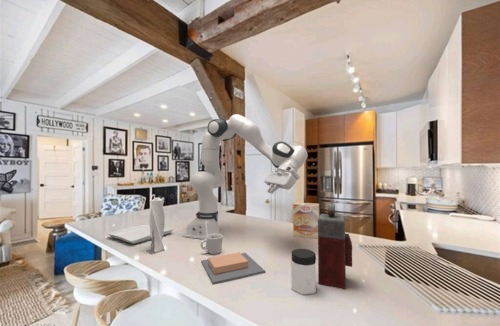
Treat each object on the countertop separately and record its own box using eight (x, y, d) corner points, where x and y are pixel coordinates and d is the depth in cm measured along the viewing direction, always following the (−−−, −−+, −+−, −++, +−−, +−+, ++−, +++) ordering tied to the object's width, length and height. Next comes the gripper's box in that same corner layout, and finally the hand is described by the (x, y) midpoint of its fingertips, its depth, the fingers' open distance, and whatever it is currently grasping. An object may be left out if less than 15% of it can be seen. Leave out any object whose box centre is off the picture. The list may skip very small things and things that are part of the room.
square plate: (174, 234, 137) (174, 228, 137) (131, 248, 114) (131, 240, 114) (149, 228, 151) (149, 222, 151) (106, 239, 128) (106, 232, 128)
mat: (201, 262, 95) (201, 260, 95) (245, 254, 104) (245, 252, 104) (213, 284, 77) (212, 282, 77) (265, 272, 86) (265, 270, 86)
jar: (296, 296, 70) (296, 258, 70) (286, 283, 78) (286, 249, 78) (321, 292, 72) (321, 256, 72) (309, 280, 80) (309, 247, 80)
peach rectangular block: (239, 258, 97) (208, 264, 92) (239, 252, 97) (208, 257, 92) (248, 267, 88) (214, 274, 82) (248, 261, 88) (214, 267, 83)
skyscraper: (144, 250, 110) (145, 194, 111) (160, 246, 116) (160, 193, 116) (151, 255, 104) (152, 196, 105) (167, 250, 110) (168, 194, 111)
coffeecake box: (293, 236, 132) (292, 203, 132) (294, 232, 138) (294, 202, 139) (319, 239, 126) (318, 205, 127) (319, 235, 133) (319, 203, 133)
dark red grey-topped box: (353, 291, 73) (352, 207, 74) (318, 284, 77) (317, 205, 78) (352, 278, 81) (351, 203, 82) (320, 272, 86) (319, 201, 86)
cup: (203, 257, 100) (203, 240, 100) (198, 251, 107) (198, 235, 107) (225, 253, 105) (225, 236, 105) (219, 248, 112) (219, 232, 112)
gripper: (271, 166, 119) (255, 185, 115) (294, 168, 101) (277, 191, 97) (278, 174, 122) (263, 193, 117) (302, 177, 103) (285, 200, 99)
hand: (269, 192), depth 107 cm, fingers closed
